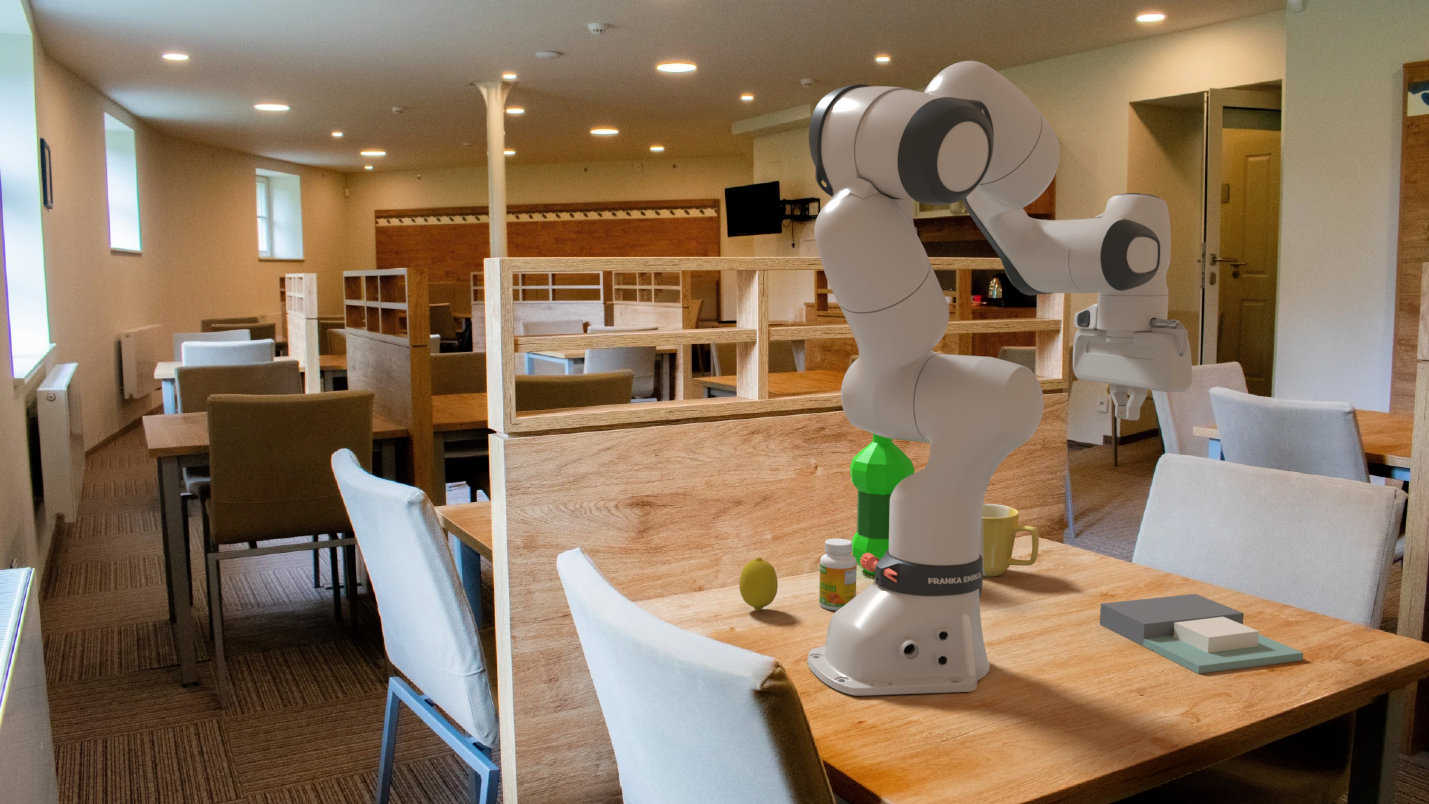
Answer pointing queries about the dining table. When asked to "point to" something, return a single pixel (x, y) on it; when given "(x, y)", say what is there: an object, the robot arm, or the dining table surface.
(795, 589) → the dining table surface
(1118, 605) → the plate
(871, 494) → the plastic bottle
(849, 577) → the supplement bottle
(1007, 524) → the mug
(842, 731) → the dining table surface
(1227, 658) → the mat
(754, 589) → the lemon
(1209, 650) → the tile
